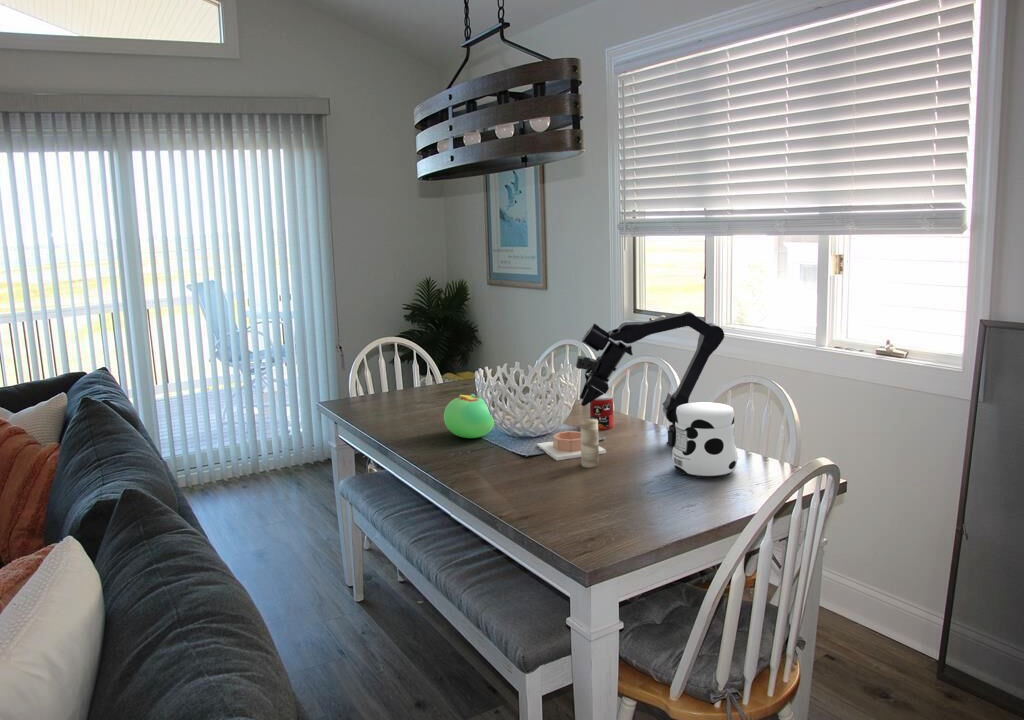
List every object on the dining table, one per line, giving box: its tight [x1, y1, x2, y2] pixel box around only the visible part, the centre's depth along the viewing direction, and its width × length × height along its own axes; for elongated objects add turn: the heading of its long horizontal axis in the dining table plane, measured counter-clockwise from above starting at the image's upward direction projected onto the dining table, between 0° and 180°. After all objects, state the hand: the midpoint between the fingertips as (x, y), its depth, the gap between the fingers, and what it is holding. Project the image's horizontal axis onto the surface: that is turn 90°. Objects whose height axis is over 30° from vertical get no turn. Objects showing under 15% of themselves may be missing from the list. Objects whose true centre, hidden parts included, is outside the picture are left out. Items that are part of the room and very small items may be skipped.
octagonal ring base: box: [536, 430, 607, 461], centre depth 237 cm, size 16×16×4 cm
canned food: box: [589, 392, 614, 431], centre depth 260 cm, size 8×8×11 cm
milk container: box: [671, 401, 738, 479], centre depth 210 cm, size 17×17×18 cm
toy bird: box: [443, 393, 496, 439], centre depth 255 cm, size 18×17×15 cm
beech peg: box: [579, 418, 600, 469], centre depth 221 cm, size 5×5×13 cm
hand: (581, 401), depth 236 cm, fingers open, 9 cm apart
